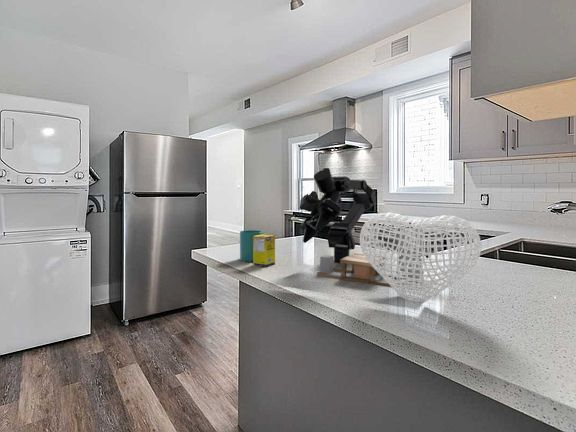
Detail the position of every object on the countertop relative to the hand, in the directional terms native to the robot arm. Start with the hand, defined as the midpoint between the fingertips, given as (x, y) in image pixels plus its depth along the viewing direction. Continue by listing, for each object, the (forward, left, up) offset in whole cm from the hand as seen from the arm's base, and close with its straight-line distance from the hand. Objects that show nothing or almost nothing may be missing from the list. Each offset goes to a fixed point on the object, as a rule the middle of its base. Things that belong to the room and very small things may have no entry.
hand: (310, 236), depth 109 cm
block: (-4, +16, -12) cm, 20 cm away
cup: (-13, -32, -13) cm, 37 cm away
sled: (-4, +12, -13) cm, 18 cm away
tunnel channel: (-4, +16, -13) cm, 21 cm away
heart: (+9, +34, -13) cm, 37 cm away
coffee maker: (-17, +28, -13) cm, 35 cm away
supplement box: (-7, -23, -13) cm, 27 cm away
